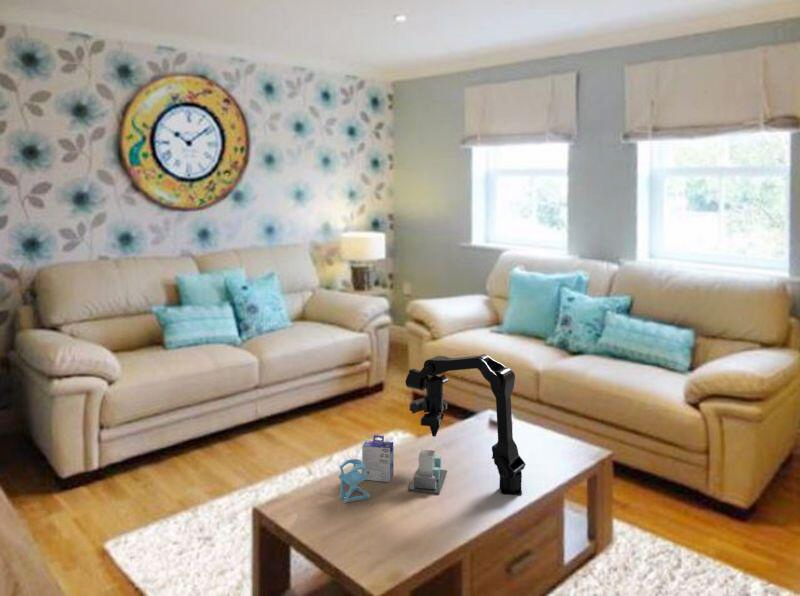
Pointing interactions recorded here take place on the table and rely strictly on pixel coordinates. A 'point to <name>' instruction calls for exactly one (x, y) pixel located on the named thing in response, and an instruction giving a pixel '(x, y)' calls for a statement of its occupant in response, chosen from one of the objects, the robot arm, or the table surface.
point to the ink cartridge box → (378, 459)
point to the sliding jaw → (436, 467)
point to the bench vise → (427, 483)
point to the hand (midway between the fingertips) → (434, 436)
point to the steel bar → (427, 463)
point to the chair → (352, 480)
